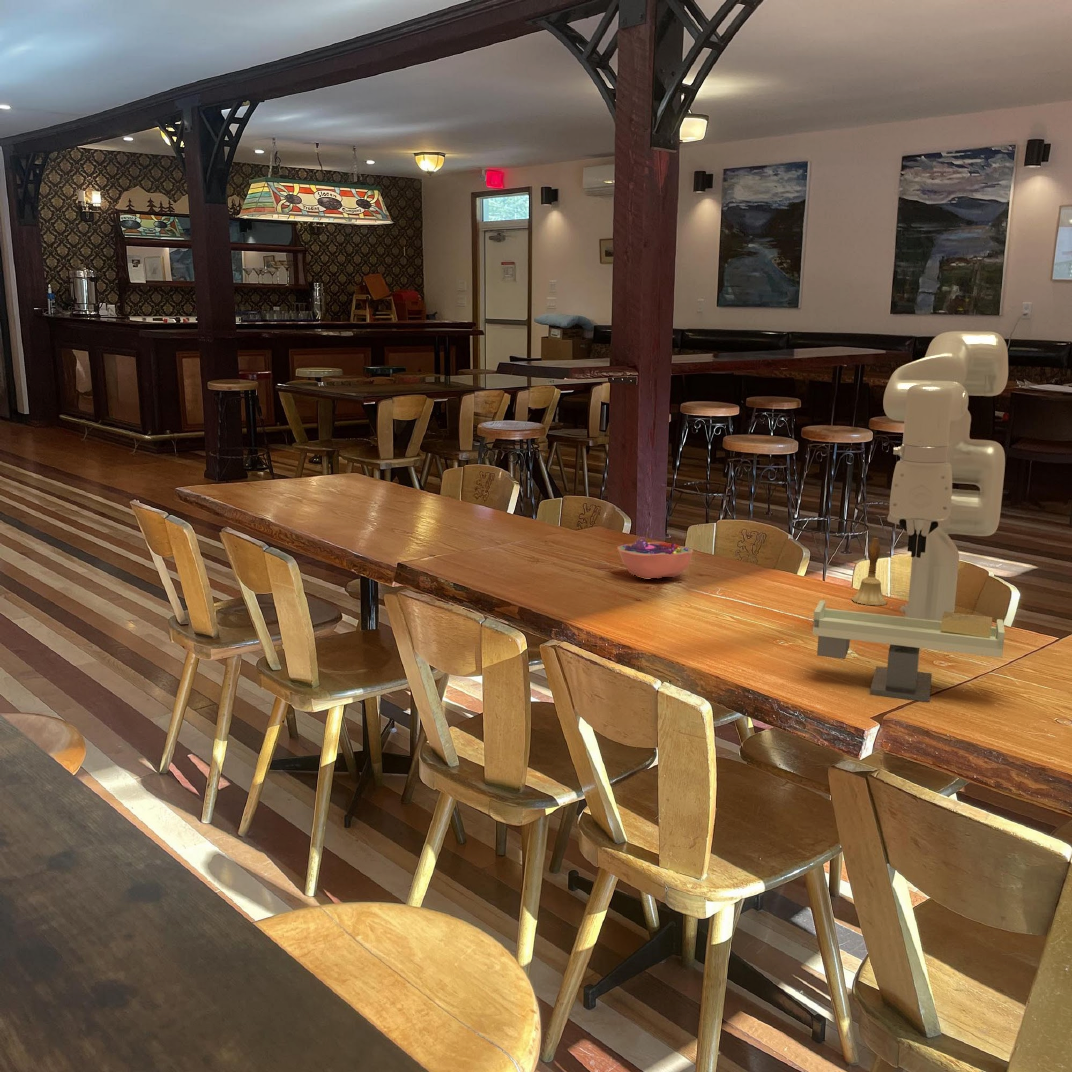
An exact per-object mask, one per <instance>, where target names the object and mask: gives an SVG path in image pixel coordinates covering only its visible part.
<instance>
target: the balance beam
mask: <svg viewBox="0 0 1072 1072" xmlns="http://www.w3.org/2000/svg"><path fill="white" fill-rule="evenodd" d="M995 622H996V623H995V624H996V625H995V626H991V636H990V638H984V637H976V636H967V635H958V634H950V633H941V624H942V621H935V620H926V619H917V618H908V617H905V616H898V615H897V616H896V615H890V614H882V613H881V614H880V613H871V612H863V611H852V610H844V609H843V610H842V609H835V608H827V607H826V600H822V599H820V600H819V602H818V603H817V605H816V608H815V609H814V610H813V623H812V625H813V626H812V636H816V637H817V636H818V637H817V647H816V648H817V650H816V651H817V652H816V656H818V657H826V658H833V659H834V658H835V659H841V660H846V657H847V655H848V651H849V649H850V643H851V641H859V642H869V643H876V644H885V645H890V644H891V645H900V646H908V647H916V648H920V649H925V650H932V651H933V650H934V651H943V652H950V653H951V652H952V653H958V654H967V655H974V656H975V655H976V656H984V657H992V658H1003V654H1004V645H1005V635H1006V632H1005V625H1004V620H1003V619H999V618H998V619H996V621H995Z"/></svg>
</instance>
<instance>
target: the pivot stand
mask: <svg viewBox="0 0 1072 1072" xmlns="http://www.w3.org/2000/svg"><path fill="white" fill-rule="evenodd" d="M920 650H921V648H916V647H908V646H900V645H891V644H889V647H888V656H887V667H885V666H875V670H874V675H873V678H872V682H871V684H870V685H871V686H870V689H869V690H870V692H869V695H873V696H881V697H889V698H895V699H903V700H908V701H909V700H910V701H917V702H924V703H925V702H926V703H930V698H931V697H930V696H931V688H932V687H931V686H932V676H933V675H932V674H933V673H931V672H923V671H919V661H920Z"/></svg>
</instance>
